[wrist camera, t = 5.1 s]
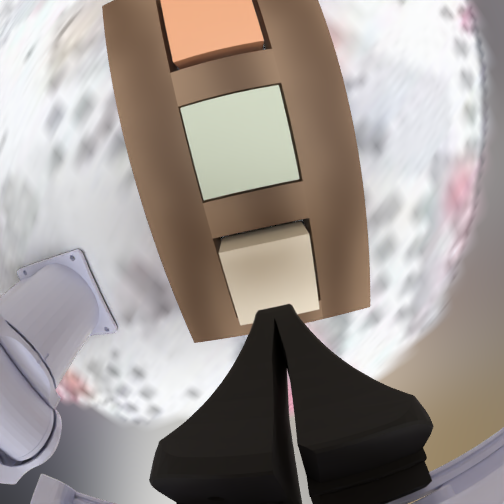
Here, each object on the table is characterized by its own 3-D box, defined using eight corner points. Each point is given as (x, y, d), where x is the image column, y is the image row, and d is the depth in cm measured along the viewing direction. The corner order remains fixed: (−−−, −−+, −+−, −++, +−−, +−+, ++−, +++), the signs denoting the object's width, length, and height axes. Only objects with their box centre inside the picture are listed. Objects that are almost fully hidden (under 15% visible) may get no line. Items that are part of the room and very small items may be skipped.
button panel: (199, 322, 22) (194, 342, 20) (116, 17, 12) (102, 6, 10) (358, 289, 21) (370, 306, 19) (293, -26, 12) (299, -43, 9)
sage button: (209, 191, 16) (203, 200, 14) (190, 112, 15) (180, 108, 12) (292, 173, 16) (299, 179, 14) (274, 93, 14) (278, 85, 12)
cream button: (241, 303, 19) (240, 325, 17) (222, 237, 18) (218, 253, 15) (311, 289, 19) (319, 309, 17) (300, 221, 17) (309, 233, 15)
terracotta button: (183, 72, 14) (173, 62, 12) (170, 13, 12) (160, -2, 10) (261, 53, 14) (264, 40, 12) (244, -5, 12) (243, -23, 10)
